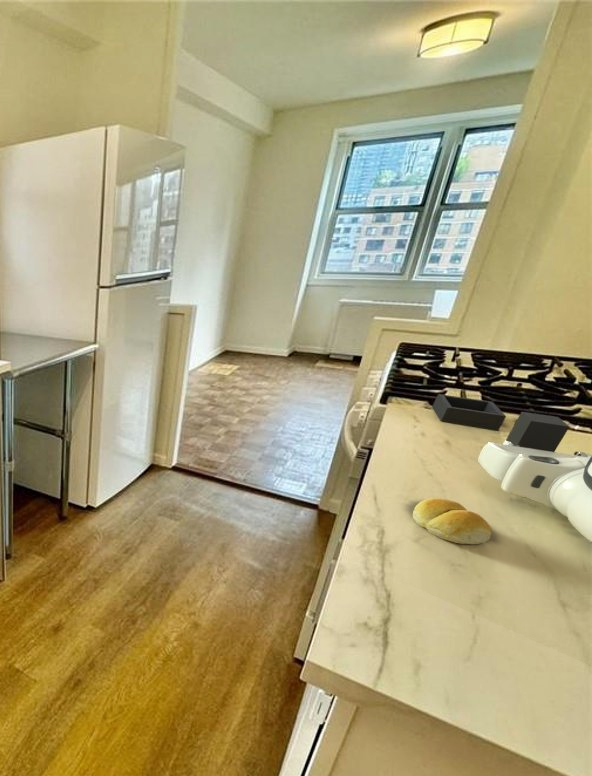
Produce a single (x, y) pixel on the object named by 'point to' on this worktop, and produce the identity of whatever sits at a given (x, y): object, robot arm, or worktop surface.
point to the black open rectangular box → (468, 412)
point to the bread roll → (451, 521)
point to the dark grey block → (538, 431)
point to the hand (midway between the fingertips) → (542, 450)
